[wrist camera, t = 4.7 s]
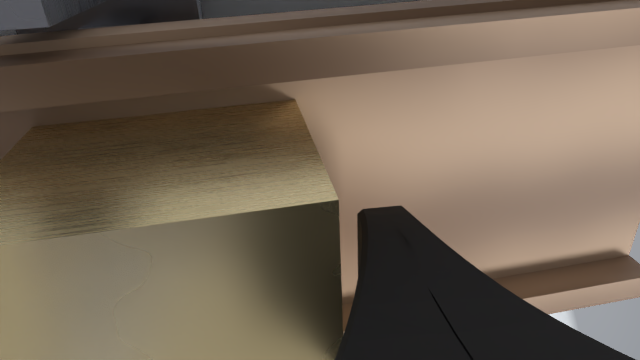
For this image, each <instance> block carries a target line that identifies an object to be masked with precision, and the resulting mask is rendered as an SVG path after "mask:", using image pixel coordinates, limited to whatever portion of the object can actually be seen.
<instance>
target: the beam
mask: <svg viewBox="0 0 640 360" xmlns="http://www.w3.org/2000/svg"><path fill="white" fill-rule="evenodd" d="M293 99H295V100H296V102H297V104H298V107H299V109H300V111H301V113H302V116H303V118H304V120H305V123H306V125H307V127H308V130H309V132H310V134H311V137H312V139H313V141H314V144H315V146H316V148H317V150H318V153H319V155H320V157H321V160H322V162H323V164H324V167H325V169H326V171H327V174H328V176H329V178H330V181H331V183H332V185H333V187H334V190H335V192H336V194H337V197H338V199H339V221H340V252H341V282H342V313H343V335H344V331H345V328H346V325H347V322H348V318H349V315H350V311H351V307H352V304H353V300H354V295H355V290H356V285H357V280H358V239H357V214H358V213H359V212H360V211H361V210H362V209H367V208H378V207H389V206H400V205H401V206H403V207H404V208H405V209H406V210H407V211H408V212H410V213H411V214H412V215H413V216H414V217H415V218H416V219H418V220H419V221H420V222H421V223H422V224H423V225H424V226H426V227H427V228H428V229H429V230H430V231H431V232H433V233H434V234H435V235H436V236H437V237H438V238H440V239H441V240H442V241H443V242H444V243H446V244H447V245H448V246H449V247H450V248H452V249H453V250H454V251H455V252H457V253H458V254H459V255H461V256H462V257H463V258H464V259H466V260H467V261H468V262H470V263H471V264H472V265H474V266H475V267H476V268H478V269H479V270H480V271H482V272H483V273H485V274H486V275H487V276H489V277H490V278H492V279H493V280H494V281H496V282H497V283H499V284H500V285H502V286H503V287H504V288H506V289H507V290H509V291H511V292H512V293H514V294H515V295H517V296H518V297H520V298H521V299H523V300H525V301H526V302H528V303H530V304H531V305H533V306H535V307H536V308H538V309H540V310H541V311H543V312H545V313H546V314H552V313H557V312H563V311H568V310H574V309H579V308H584V307H590V306H595V305H600V304H606V303H610V302H616V301H622V300H627V299H632V298H638V297H640V264H639V263H638V262H637V261H635V260H634V259H633V258H632V257H630V256H629V253H630V250H631V247H632V244H633V241H634V238H635V234H636V232H637V228H638V225H639V222H640V0H422V1H410V2H398V3H387V4H375V5H363V6H351V7H339V8H327V9H315V10H304V11H292V12H280V13H268V14H256V15H244V16H233V17H221V18H209V19H197V20H185V21H173V22H161V23H150V24H138V25H126V26H114V27H102V28H90V29H79V30H67V31H55V32H43V33H31V34H19V35H7V36H0V160H1V159H2V158H3V157H4V156H5V155H6V154H7V153H8V152H9V151H10V150H11V149H12V147H13V146H14V145H15V144H16V143H17V142H18V141H19V140H20V139H21V138H22V137H23V136H24V135H25V134H26V133H27V132H28V131H29V130H30V129H31V128H32V127H35V126H44V125H54V124H63V123H73V122H82V121H92V120H102V119H111V118H121V117H130V116H140V115H149V114H159V113H169V112H178V111H188V110H197V109H207V108H217V107H226V106H236V105H245V104H255V103H264V102H274V101H284V100H293Z"/></svg>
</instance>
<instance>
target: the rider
mask: <svg viewBox="0 0 640 360" xmlns="http://www.w3.org/2000/svg"><path fill="white" fill-rule="evenodd" d="M342 338H343V313H342V282H341V252H340V221H339V199H338V197H337V194H336V192H335V190H334V187H333V185H332V183H331V181H330V178H329V176H328V174H327V171H326V169H325V167H324V164H323V162H322V160H321V157H320V155H319V153H318V150H317V148H316V146H315V144H314V141H313V139H312V137H311V134H310V132H309V130H308V127H307V125H306V123H305V120H304V118H303V116H302V113H301V111H300V109H299V107H298V104H297V102H296V100H295V99H293V100H284V101H274V102H264V103H255V104H245V105H236V106H226V107H217V108H207V109H197V110H188V111H178V112H169V113H159V114H149V115H140V116H130V117H121V118H111V119H102V120H92V121H82V122H73V123H63V124H54V125H44V126H35V127H32V128H31V129H30V130H29V131H28V132H27V133H26V134H25V135H24V136H23V137H22V138H21V139H20V140H19V141H18V142H17V143H16V144H15V145H14V146H13V147H12V149H11V150H10V151H9V152H8V153H7V154H6V155H5V156H4V157H3V158H2V159H1V160H0V360H335V357H336V354H337V352H338V349H339V346H340V344H341V341H342Z"/></svg>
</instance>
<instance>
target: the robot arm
mask: <svg viewBox="0 0 640 360" xmlns="http://www.w3.org/2000/svg"><path fill="white" fill-rule="evenodd" d="M357 239H358V280H357V285H356V290H355V295H354V300H353V304H352V307H351V311H350V315H349V318H348V322H347V325H346V328H345V331H344V335H343V338H342V341H341V344H340V346H339V349H338V352H337V354H336V357H335V360H635V359H633V358H631V357H629V356H627V355H625V354H622V353H620V352H618V351H616V350H614V349H612V348H610V347H608V346H606V345H604V344H602V343H600V342H598V341H596V340H594V339H593V338H590V337H589V336H586V335H584V334H582V333H581V332H579V331H577V330H575V329H573V328H571V327H569V326H568V325H566V324H564V323H562V322H560V321H558V320H557V319H555V318H553V317H551V316H550V315H548V314H546V313H545V312H543V311H541V310H540V309H538V308H536V307H535V306H533V305H531V304H530V303H528V302H526V301H525V300H523V299H521V298H520V297H518V296H517V295H515V294H514V293H512V292H511V291H509V290H507V289H506V288H504V287H503V286H502V285H500V284H499V283H497V282H496V281H494V280H493V279H492V278H490V277H489V276H487V275H486V274H485V273H483V272H482V271H480V270H479V269H478V268H476V267H475V266H474V265H472V264H471V263H470V262H468V261H467V260H466V259H464V258H463V257H462V256H461V255H459V254H458V253H457V252H455V251H454V250H453V249H452V248H450V247H449V246H448V245H447V244H446V243H444V242H443V241H442V240H441V239H440V238H438V237H437V236H436V235H435V234H434V233H433V232H431V231H430V230H429V229H428V228H427V227H426V226H424V225H423V224H422V223H421V222H420V221H419V220H418V219H416V218H415V217H414V216H413V215H412V214H411V213H410V212H408V211H407V210H406V209H405V208H404V207H403V206H401V205H400V206H389V207H378V208H367V209H362V210H361V211H360V212H359V213H358V214H357Z"/></svg>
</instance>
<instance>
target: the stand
mask: <svg viewBox="0 0 640 360" xmlns="http://www.w3.org/2000/svg"><path fill="white" fill-rule="evenodd" d="M197 19H203V16H202V10H201V4H200V0H0V31H1V30H16V33H17V35H19V34H31V33H43V32H55V31H67V30H79V29H90V28H102V27H114V26H126V25H138V24H150V23H161V22H173V21H185V20H197Z"/></svg>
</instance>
